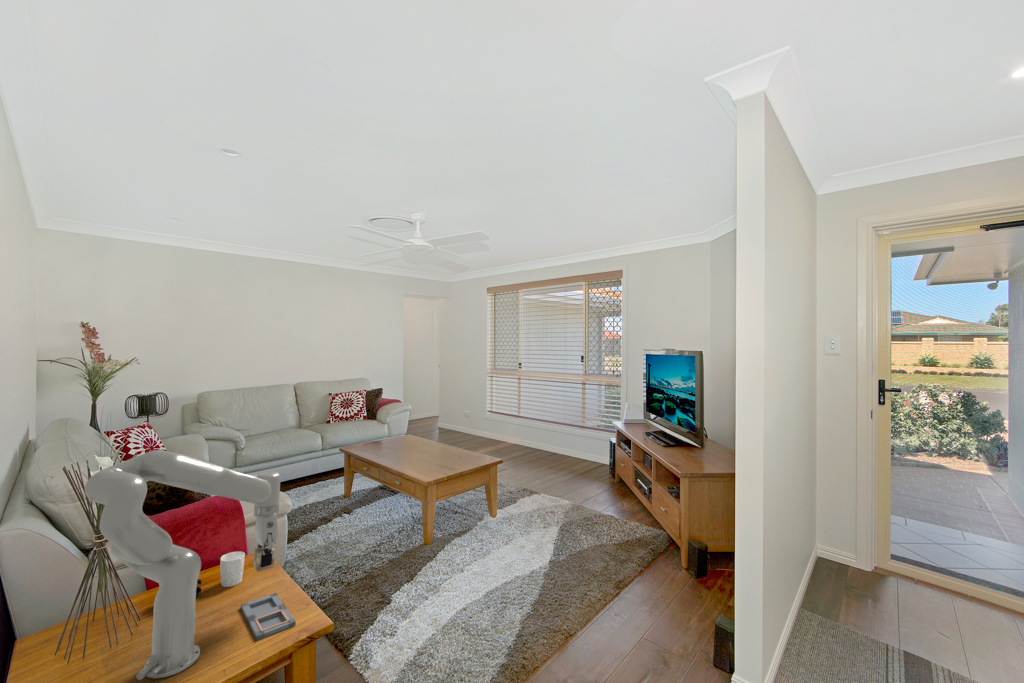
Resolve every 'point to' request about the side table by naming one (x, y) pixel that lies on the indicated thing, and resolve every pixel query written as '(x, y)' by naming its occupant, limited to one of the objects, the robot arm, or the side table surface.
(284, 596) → the side table surface
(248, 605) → the grey slotted tray
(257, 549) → the birch block
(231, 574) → the white cup
